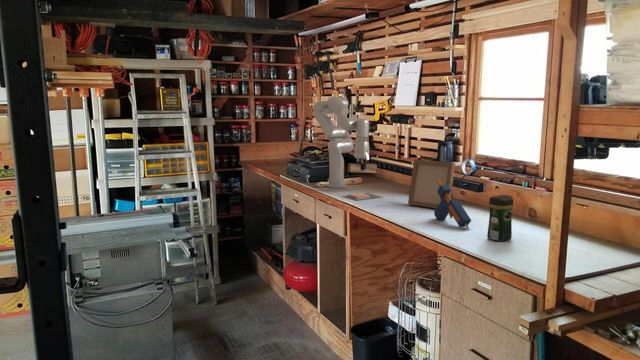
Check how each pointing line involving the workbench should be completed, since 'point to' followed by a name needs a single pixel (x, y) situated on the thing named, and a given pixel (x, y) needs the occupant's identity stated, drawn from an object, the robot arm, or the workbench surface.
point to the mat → (364, 198)
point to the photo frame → (429, 182)
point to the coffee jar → (500, 218)
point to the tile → (358, 196)
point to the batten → (357, 168)
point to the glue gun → (450, 207)
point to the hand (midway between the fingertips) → (361, 169)
